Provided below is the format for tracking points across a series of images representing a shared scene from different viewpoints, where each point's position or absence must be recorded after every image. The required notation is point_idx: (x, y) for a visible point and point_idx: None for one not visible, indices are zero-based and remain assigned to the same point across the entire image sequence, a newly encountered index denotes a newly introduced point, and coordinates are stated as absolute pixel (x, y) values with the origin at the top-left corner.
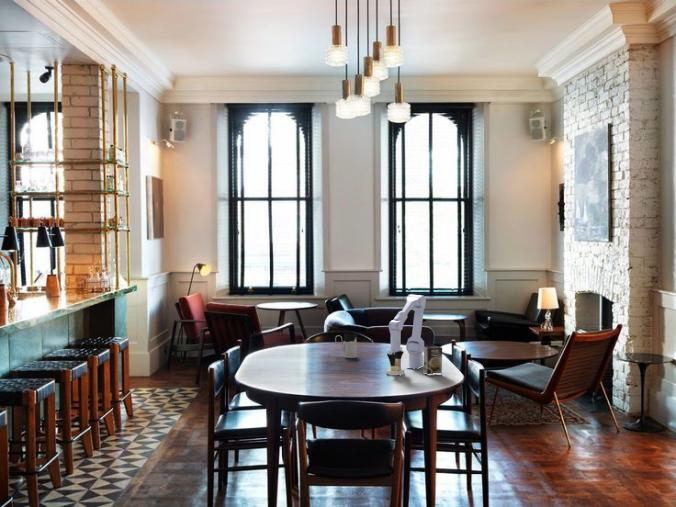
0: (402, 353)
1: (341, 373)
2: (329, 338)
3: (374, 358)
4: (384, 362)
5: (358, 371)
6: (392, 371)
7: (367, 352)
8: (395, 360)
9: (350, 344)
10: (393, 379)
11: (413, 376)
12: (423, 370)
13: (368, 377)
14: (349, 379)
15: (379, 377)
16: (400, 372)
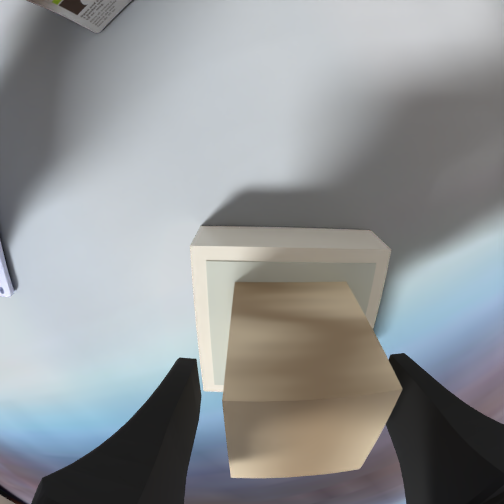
0: (102, 494)
1: (381, 485)
2: (13, 498)
3: (25, 455)
4: (29, 428)
5: (311, 478)
6: (373, 325)
7: (3, 463)
8: (386, 419)
9: None
10: (489, 227)
11: (287, 66)
12: (83, 18)
13: (453, 392)
14: (490, 416)
15: (448, 348)
16: (328, 241)
